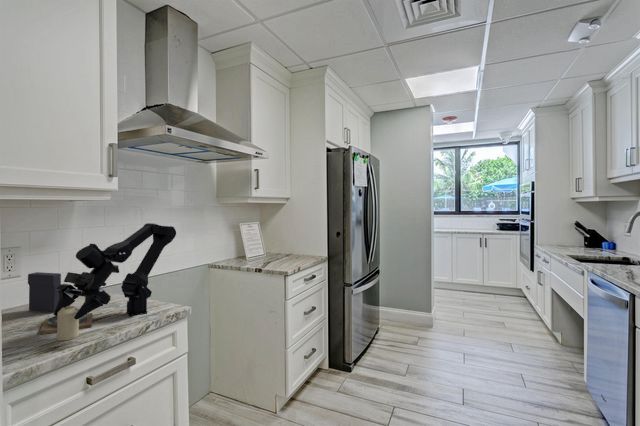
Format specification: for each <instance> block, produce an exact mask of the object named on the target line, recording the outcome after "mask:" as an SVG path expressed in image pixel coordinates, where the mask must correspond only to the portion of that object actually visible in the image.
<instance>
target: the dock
mask: <svg viewBox="0 0 640 426" xmlns="http://www.w3.org/2000/svg"><path fill="white" fill-rule="evenodd" d="M93 313H94V312H89V313H87V314H86V315H84V316H82V317H80V318H79V330H80V329H87V328H92V324H93V323H92V322H93V316H94V315H93ZM38 333H39V335H45V334H46V335H47V334H51V333H53V334H54V333H57V316H55V315H53V316H51V317H49V318H48V317H47V318H45V320H44V321H43V323H42V326H41V328H40V330H39V332H38Z"/></svg>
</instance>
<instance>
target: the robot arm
mask: <svg viewBox="0 0 640 426" xmlns="http://www.w3.org/2000/svg"><path fill="white" fill-rule="evenodd" d="M176 236H177V231H176V228H175V227H174V226H171V225H160V224H158V223H151V222H149V223H148V222H147V223H144V225H143V226H142V227H140V228H139V229H138V230H137V231H135V232H133V234H131V235H130V236H129V237H127V238H125V239H124V240H123V241H119V242H116V243H114V244H112V245H109V246H107V247H106V248H104V250H101V249H100V248H99V247H98V245H97V244H96V243H89V245H87V246H85V247H83V248H81V249H79V250H78V251H77V252H76V254H75V258H76V259H77V260H78V261H80V262H81V263H82V264H83V265H84V266H85V267H86V268H87V269H91V271H90V272H86V271H82V273H77V272H69V271H68V272H67V273H66V275H65V278H64V280H63V282H64V283H61V284H60V285H59V286H58V288H57V289H56V290H57V293H58V294H59V301H58V304H57V306H56V309H55V311H54V313H53V316H57V315H58V312H59V311H60V310H61V309H62V308H63V307H64V308H65V307H67V306H72V305H73V304H74V303H75V302H76V299H78V298H79V297H84V302H83V303H82V305H81V306H80V308H78V309H79V311H78V312H77V313H76V315H75V317H74V319H76V320H77V319H79V318H80V317H82V316H84V315H86V314H88V313H92V311H94V310H96V309H98V308H100V307H103V306H104V305H106V306H107V305H108V304H109V303H110V301H111V295H110V294H109V293H108V292H107V291H105V290H104V289H103V288H102V287H105V286H107V283H106V281H107V280H108V278H109V277H110V276H111V275H112V274H113V273H115V274H119V273H120V269H119V265H116V264H114V263H119V264H121V263H124V262H126V261H127V260H128V259H129V258H130V256H132V254H133V251H134V250H135V249H136V248H137V247H138V246H140V245H141V244H143V243H144V242H145V241H146V240H147V239H149V238H150V237H152V243H151V244H150V246H149V247H148V250H147V252H146V253H145V255H144V257H143V258H142V260H141V262H140V263H139V265H138V267H137V268H136V270H135V271H134V272H133V273H130V272H129V273H127V274H126V276H125V277H124V279H123V280H121V282H122V285H121V291H122V293H123V295H124V298H128V300H127V301H126V313H127V315H128V316H136V315H143V314H148V310H147V309H148V307H147V304H148V303H147V301H148V299H149V298H150V297H152V290H151V289H150V288H149V287H148V284H149V275H150V273H151V271H152V270H153V267H154V266H155V265H156V262H157V261H158V259H159V257H160V256H161V254H162V252H163V250H164V248H165V247H166V246H168V245H169V244H170V243H172V242H173V240H174V239H175V237H176ZM68 283H70V284H68ZM72 284H73V285H72Z"/></svg>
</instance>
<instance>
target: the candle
mask: <svg viewBox="0 0 640 426" xmlns="http://www.w3.org/2000/svg"><path fill="white" fill-rule="evenodd" d="M79 309H80V308H77V307H76V306H74V305H70V306H67V307H65V308H64V307H63V308H62V309H61V310H60V311H59V312H58V315H57V332H56V338H57V341H70V340H74V339H77V338H78V337H79V335H80V334H79V332H80V331H79V330H80V329H79V319H77V320H76V319H74V317H75V315H76V313H77V312H78V311H79Z"/></svg>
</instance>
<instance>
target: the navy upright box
mask: <svg viewBox="0 0 640 426" xmlns="http://www.w3.org/2000/svg"><path fill="white" fill-rule="evenodd" d="M27 284H28V285H29V286H28V289H29V290H28V291H29V292H28V293H29V294H28V295H29V296H28V311H29V312H38V313H39V312H40V313H52V314H54V311H55V309H56V306H57V304H58V301H59V294H58V293H57V290H56V289H57V288H58V286H59V285H60V284H62V274H61V273H60V272H59V273H54V272H38V271H35V272H33V273H28V275H27Z"/></svg>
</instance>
